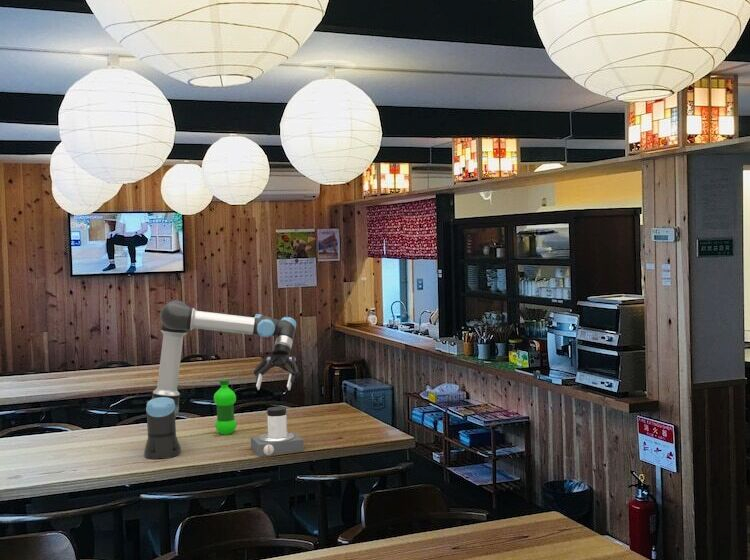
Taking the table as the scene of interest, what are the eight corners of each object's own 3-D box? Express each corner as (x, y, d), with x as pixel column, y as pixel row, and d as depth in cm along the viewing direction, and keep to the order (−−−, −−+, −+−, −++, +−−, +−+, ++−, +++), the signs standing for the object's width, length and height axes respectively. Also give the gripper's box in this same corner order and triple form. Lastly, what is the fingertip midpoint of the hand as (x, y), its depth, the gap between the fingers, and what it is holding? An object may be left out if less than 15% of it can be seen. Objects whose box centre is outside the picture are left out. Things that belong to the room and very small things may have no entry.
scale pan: (263, 444, 338) (263, 442, 338) (255, 436, 352) (255, 434, 352) (298, 439, 344) (298, 438, 344) (289, 432, 358) (288, 430, 358)
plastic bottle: (225, 436, 374) (223, 382, 373) (210, 434, 381) (208, 381, 379) (241, 432, 382) (239, 379, 381) (226, 429, 389) (224, 377, 387)
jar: (263, 437, 346) (262, 409, 346) (274, 433, 354) (273, 405, 353) (280, 439, 342) (279, 411, 342) (291, 434, 349) (290, 407, 349)
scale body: (259, 457, 337) (259, 445, 337) (251, 448, 352) (250, 436, 352) (303, 451, 344) (303, 439, 343) (293, 442, 359) (293, 431, 359)
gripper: (311, 353, 359) (303, 393, 345) (257, 353, 364) (247, 392, 350) (308, 343, 353) (299, 383, 340) (253, 343, 358) (242, 382, 344)
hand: (272, 388), depth 345 cm, fingers open, 13 cm apart
